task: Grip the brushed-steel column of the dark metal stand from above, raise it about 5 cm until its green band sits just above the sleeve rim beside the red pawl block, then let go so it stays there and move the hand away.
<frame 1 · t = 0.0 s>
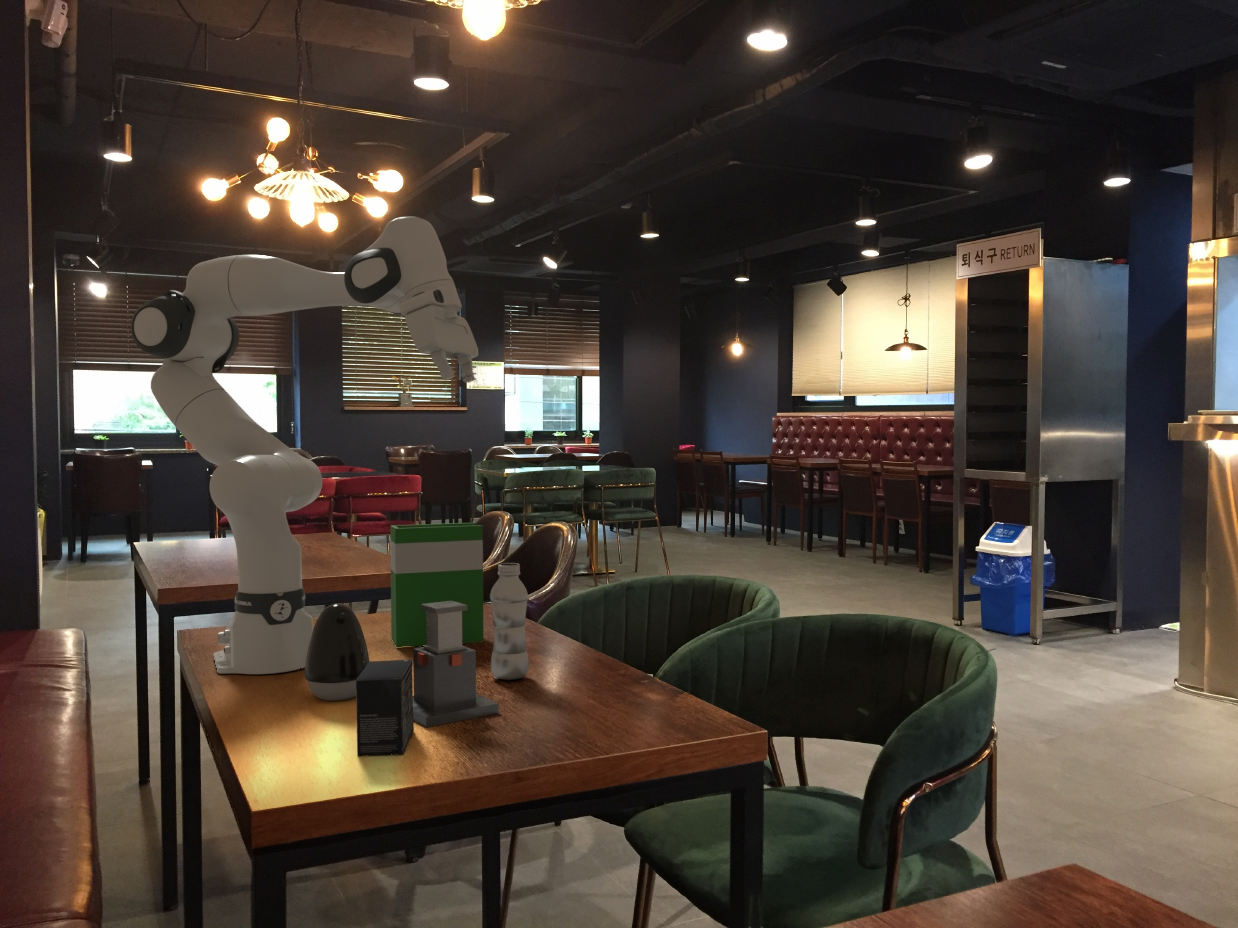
hand: (459, 380, 167), 52 cm above the table, tool tilted 20°, fingers open, 8 cm apart
pump dispenser: (338, 698, 156), on the table
plastic bottle: (509, 679, 167), on the table
hardback book: (437, 642, 198), on the table
small box: (385, 745, 132), on the table
stand: (444, 710, 147), on the table
column: (444, 652, 147), point 9 cm above the table, slide at 0.0 cm
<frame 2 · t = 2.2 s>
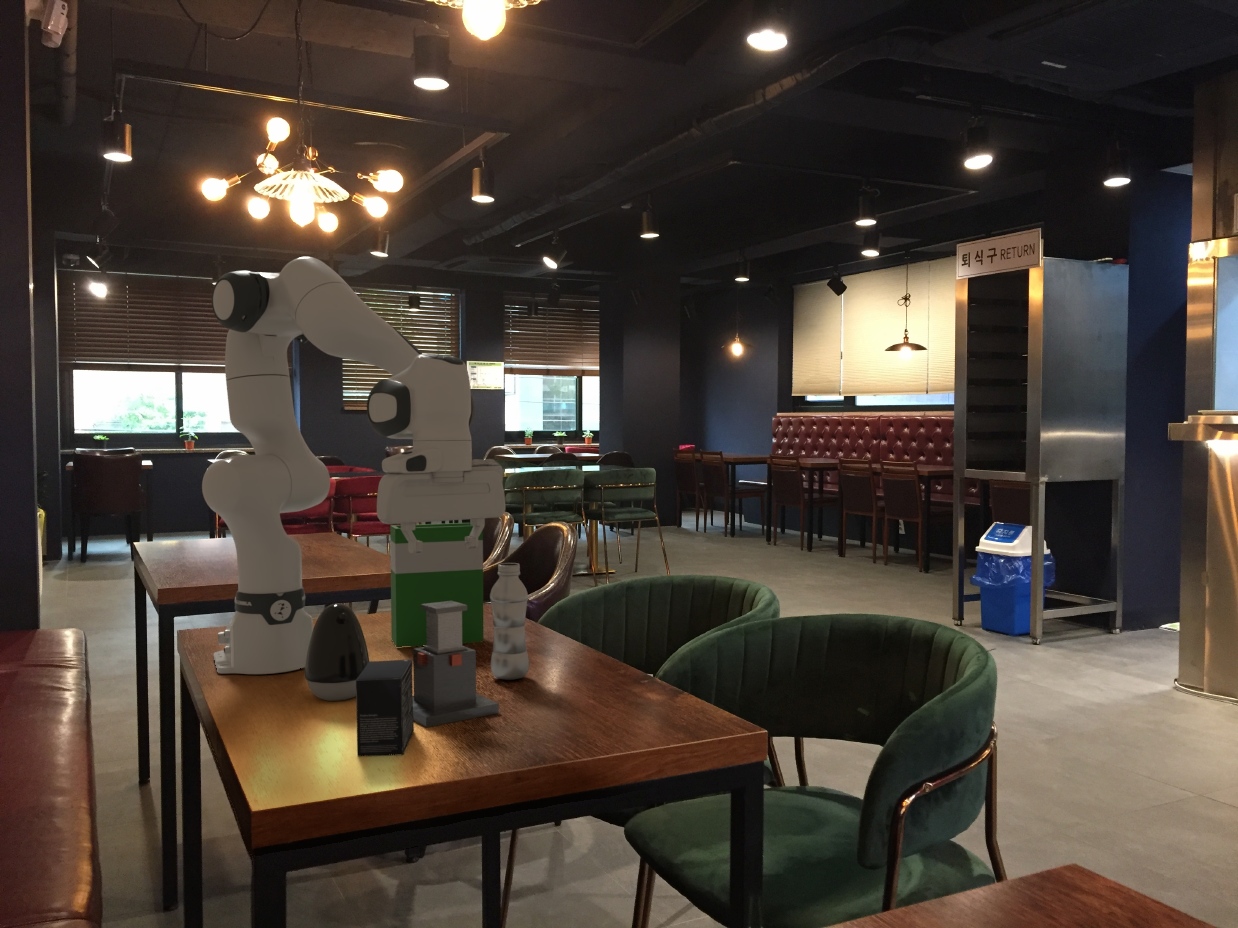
hand: (444, 550, 147), 25 cm above the table, tool pointing down, fingers open, 8 cm apart
nothing on the table moved.
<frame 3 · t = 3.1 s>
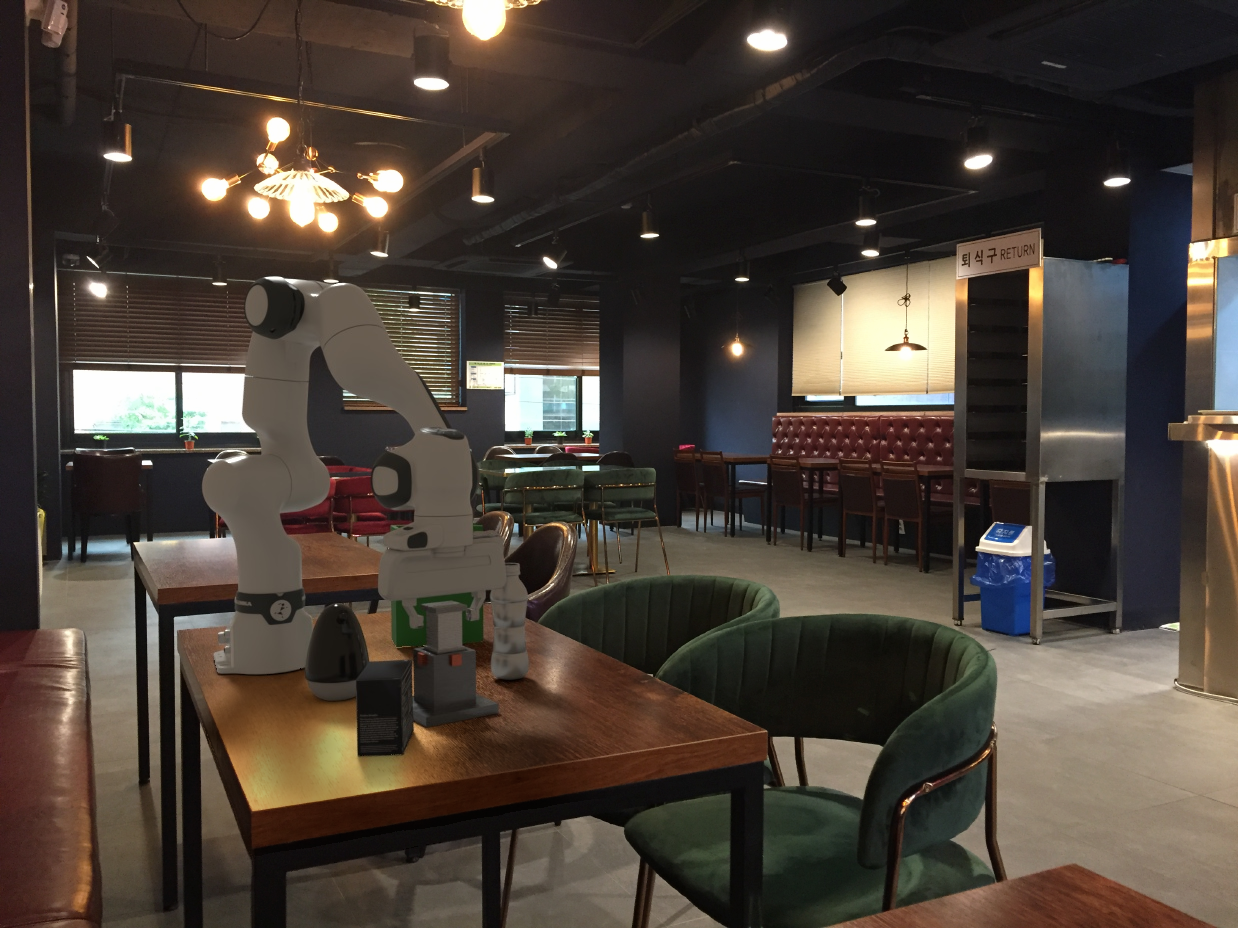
hand: (445, 623, 147), 13 cm above the table, tool pointing down, fingers open, 8 cm apart
nothing on the table moved.
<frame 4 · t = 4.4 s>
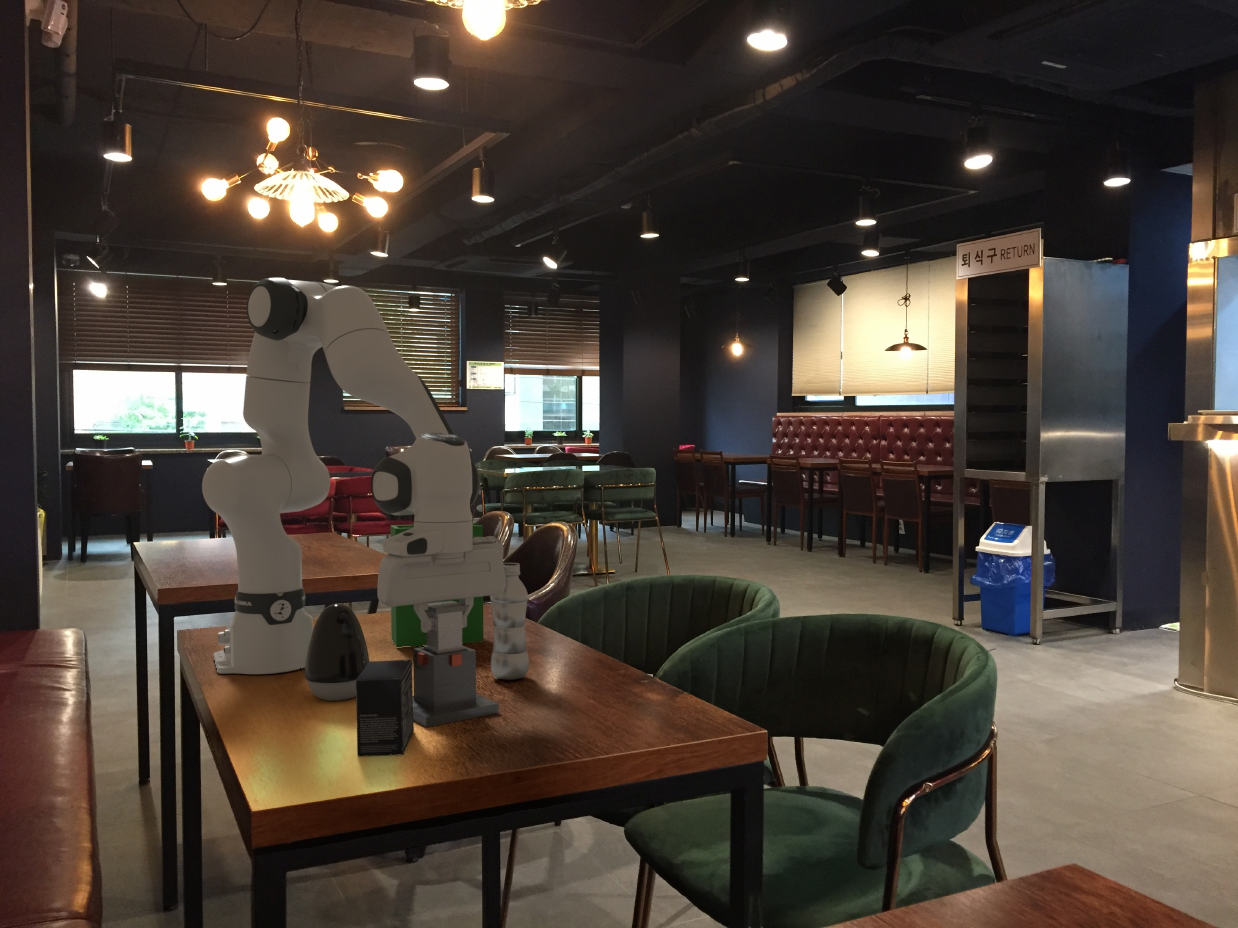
hand: (444, 629, 147), 13 cm above the table, tool pointing down, fingers closed on column, 4 cm apart
column: (444, 652, 147), point 9 cm above the table, slide at 0.0 cm, touching gripper
everything else where it was.
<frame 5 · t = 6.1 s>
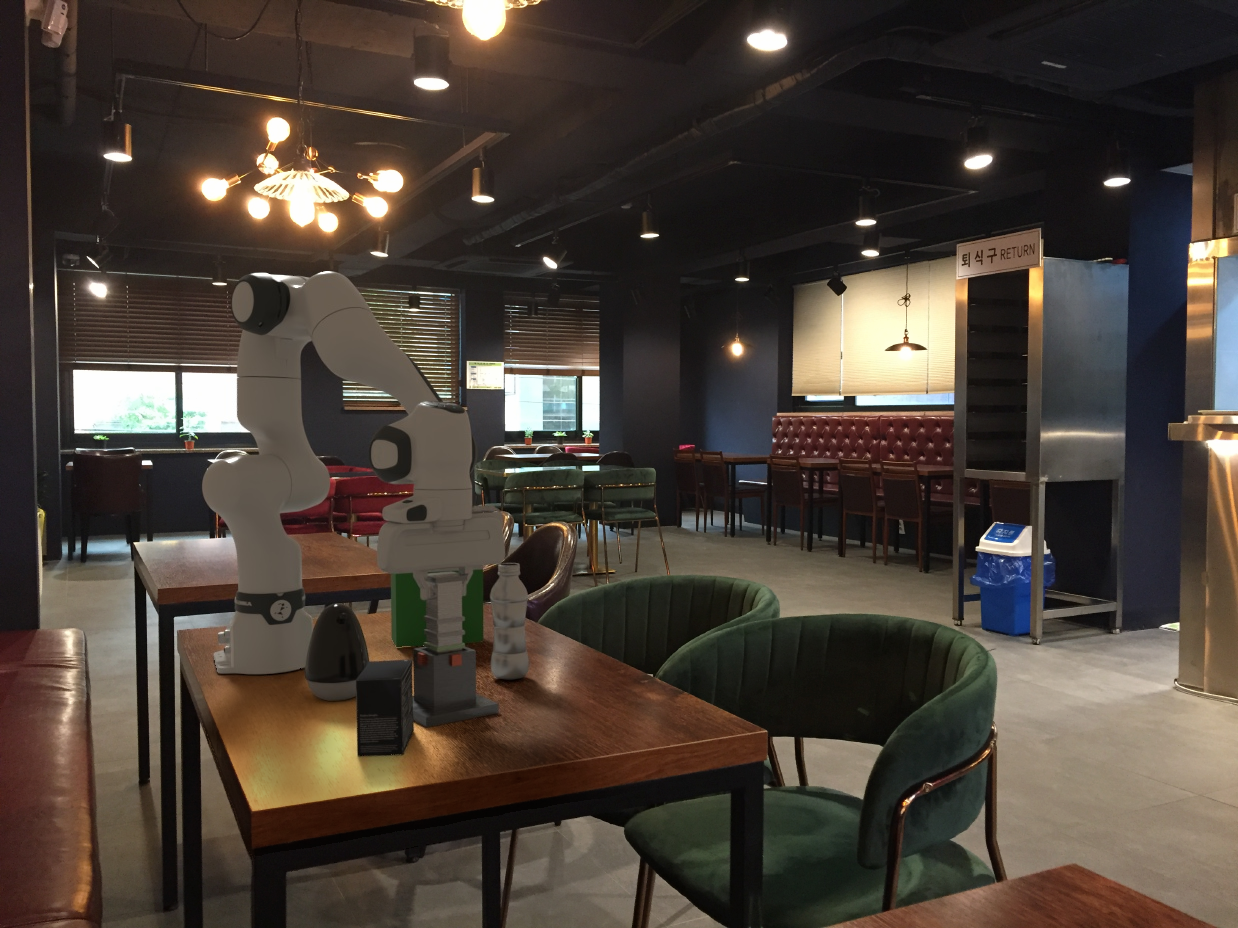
hand: (443, 597, 147), 17 cm above the table, tool pointing down, fingers closed on column, 4 cm apart
column: (444, 622, 147), point 14 cm above the table, slide at 4.6 cm, touching gripper
everything else where it was.
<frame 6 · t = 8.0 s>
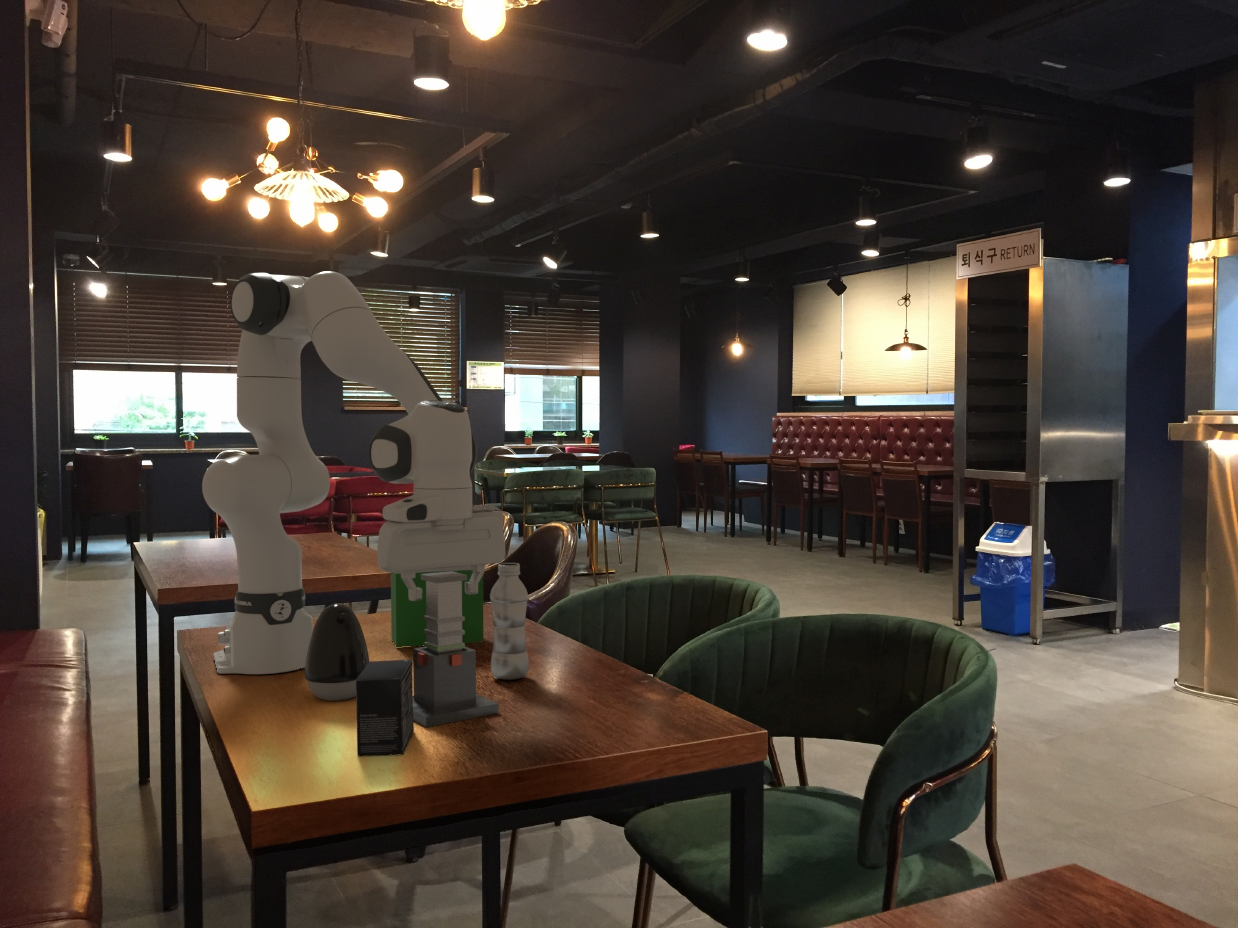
hand: (443, 596, 147), 18 cm above the table, tool pointing down, fingers open, 8 cm apart
column: (444, 622, 147), point 14 cm above the table, slide at 4.6 cm
everything else where it was.
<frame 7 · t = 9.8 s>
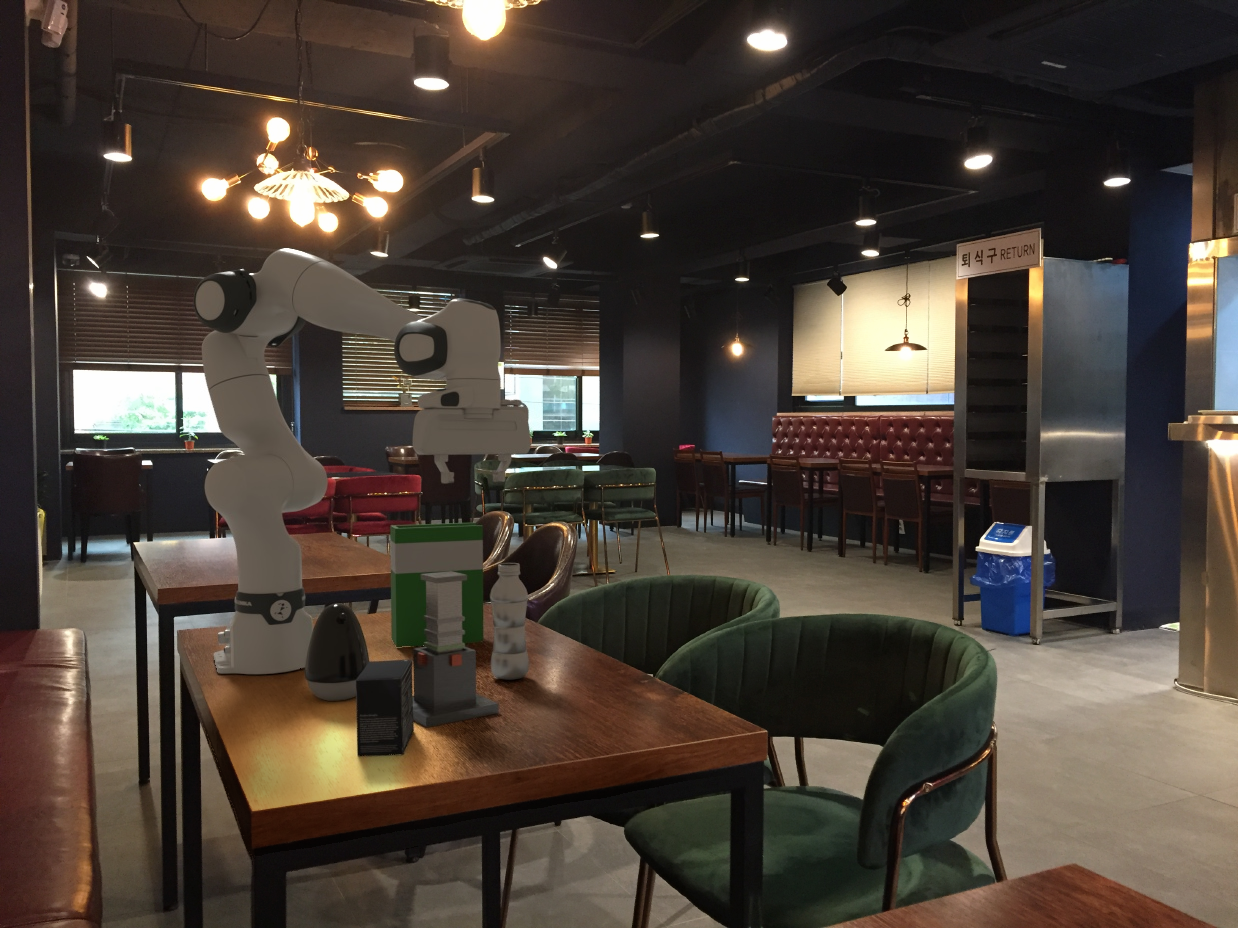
hand: (473, 482, 158), 35 cm above the table, tool pointing down, fingers open, 8 cm apart
nothing on the table moved.
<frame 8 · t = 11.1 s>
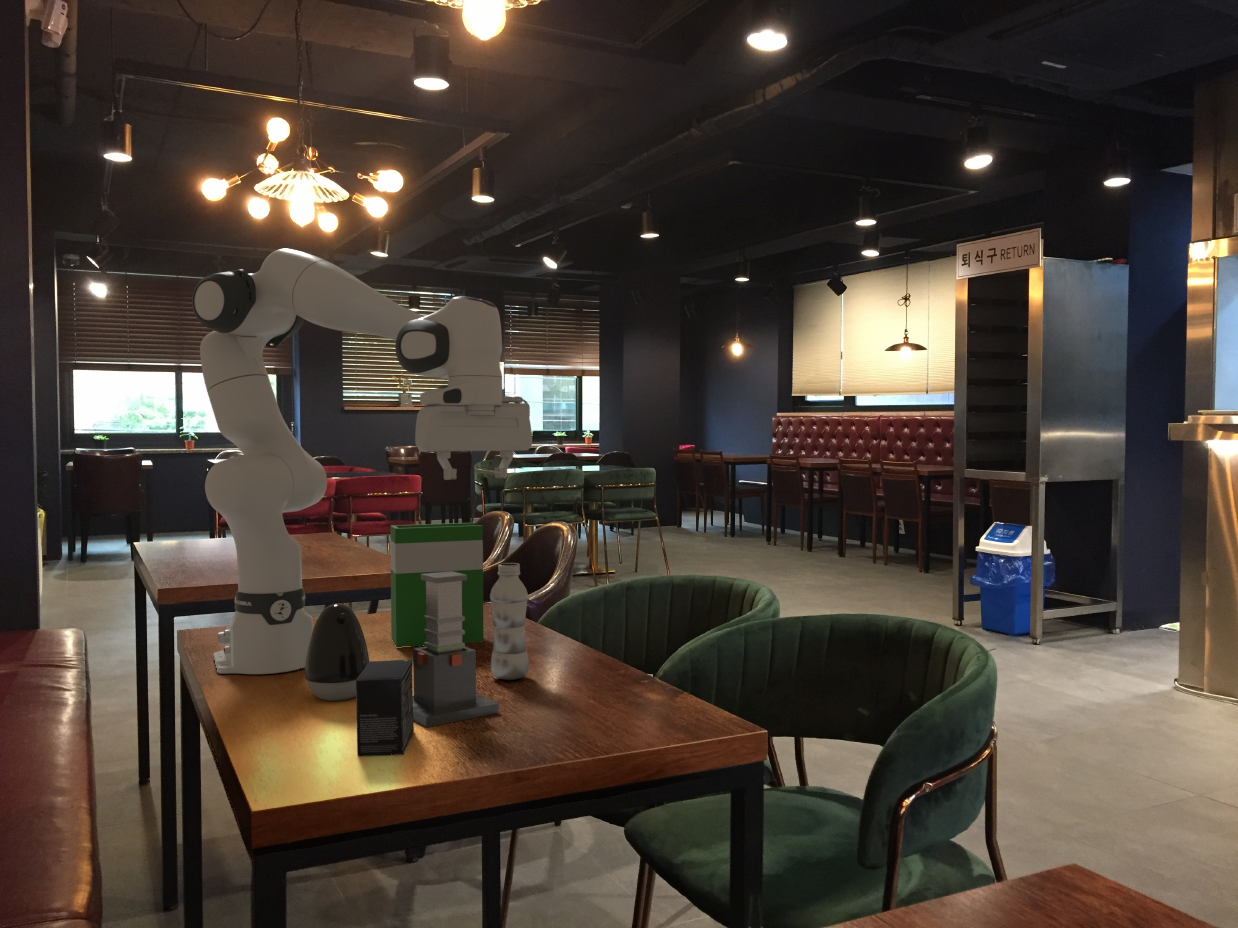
hand: (476, 479, 159), 35 cm above the table, tool pointing down, fingers open, 8 cm apart
nothing on the table moved.
at the end: column slide at 4.6 cm; the gripper is holding nothing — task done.
